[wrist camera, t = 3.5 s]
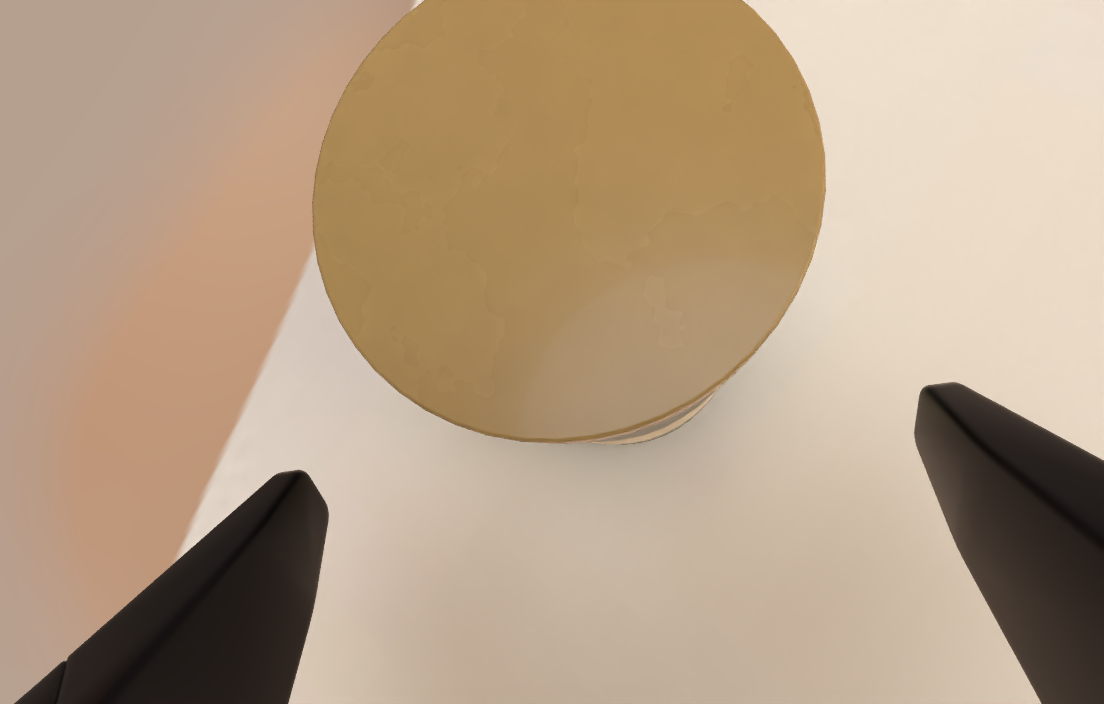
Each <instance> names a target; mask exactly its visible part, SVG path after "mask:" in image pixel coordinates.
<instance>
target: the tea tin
mask: <svg viewBox="0 0 1104 704" xmlns="http://www.w3.org/2000/svg"><path fill="white" fill-rule="evenodd" d="M825 192H826V180H825V152H824V146H823V140H822V134H821V128H820V122H819V119H818V116H817V113H816V110H815V107H814V104H813V101H812V97H811V94H810V91H809V89H808V87H807V85H806V83H805V81H804V79H803V77H802V75H801V73H800V71H799V69H798V67H797V65H796V63H795V61H794V59H793V58H792V56H791V55H790V53H789V52H788V50H787V49H786V48H785V46H784V45H783V43H782V42H781V40H780V39H779V37H778V36H777V35H776V33H775V32H774V31H773V30H772V29H771V28H770V27H769V26H768V25H767V23H766V22H765V21H764V20H763V19H762V18H761V17H760V16H759V15H758V14H757V13H756V12H755V11H754V10H753V9H752V8H751V7H750V6H749V5H747V4H746V3H745V2H744V1H742V0H425V1H423V2H422V3H421V4H419V5H418V6H417V7H416V8H414V9H413V10H412V11H410V12H409V13H408V14H407V15H405V16H404V17H403V18H402V19H401V20H400V21H399V22H398V23H397V24H396V25H395V26H394V27H393V28H392V29H391V30H390V31H389V32H388V33H387V34H386V35H385V36H384V37H383V38H382V39H381V40H380V41H379V42H378V44H377V45H376V46H375V47H374V49H373V50H372V51H371V52H370V53H369V55H368V56H367V57H366V58H365V60H364V61H363V62H362V64H361V65H360V67H359V68H358V70H357V71H356V73H355V74H354V76H353V78H352V79H351V81H350V82H349V84H348V85H347V87H346V89H345V91H344V93H343V95H342V97H341V99H340V101H339V103H338V105H337V107H336V109H335V111H334V113H333V115H332V118H331V120H330V123H329V126H328V129H327V131H326V134H325V137H324V140H323V143H322V147H321V151H320V156H319V160H318V164H317V168H316V174H315V183H314V193H313V202H312V203H313V235H314V242H315V248H316V255H317V262H318V266H319V269H320V272H321V276H322V279H323V283H324V286H325V289H326V293H327V295H328V297H329V299H330V302H331V304H332V306H333V308H334V311H335V313H336V315H337V317H338V320H339V322H340V323H341V325H342V326H343V328H344V330H345V331H346V333H347V334H348V336H349V338H350V339H351V341H352V342H353V344H354V346H355V347H356V348H357V350H358V351H359V352H360V353H361V354H362V356H363V357H364V358H365V359H366V360H367V362H368V363H369V364H370V365H371V366H372V368H373V369H374V370H375V371H376V372H377V373H378V374H379V375H380V376H381V377H383V378H384V379H385V380H386V381H387V382H388V383H389V384H390V385H391V386H393V387H394V388H395V389H396V390H397V391H398V392H399V393H401V394H402V395H404V396H405V397H407V398H408V399H410V400H411V401H413V402H414V403H416V404H417V405H418V406H420V407H421V408H423V409H424V410H426V411H428V412H430V413H432V414H434V415H436V416H438V417H440V418H442V419H444V420H446V421H448V422H450V423H452V424H455V425H457V426H460V427H463V428H466V429H469V430H472V431H475V432H479V433H482V434H485V435H488V436H493V437H499V438H504V439H510V440H515V441H521V442H537V443H559V444H568V443H579V442H590V443H599V444H622V445H624V444H635V443H641V442H646V441H650V440H653V439H656V438H659V437H662V436H664V435H666V434H668V433H670V432H672V431H674V430H676V429H678V428H679V427H681V426H682V425H684V424H685V423H686V422H688V421H689V420H690V419H691V418H693V417H694V416H695V415H696V414H697V413H698V412H699V411H700V410H701V409H702V408H703V406H705V405H706V404H707V402H708V401H709V400H710V399H711V397H712V396H713V395H714V394H715V393H716V391H717V390H718V389H719V388H720V386H722V385H723V384H724V383H725V382H726V381H727V380H728V379H729V378H730V377H731V376H733V375H734V374H735V373H736V372H737V371H738V370H739V369H740V368H741V367H742V366H743V365H744V364H745V363H746V362H747V361H748V360H749V359H750V358H751V357H752V356H753V355H754V353H755V352H756V351H757V350H758V349H759V347H760V346H761V345H762V344H763V342H764V341H765V340H766V339H767V338H768V336H769V335H770V334H771V333H772V331H773V330H774V329H775V328H776V327H777V325H778V324H779V322H780V320H781V319H782V317H783V316H784V314H785V312H786V311H787V309H788V307H789V306H790V304H791V303H792V301H793V299H794V298H795V296H796V294H797V292H798V290H799V288H800V285H801V283H802V281H803V279H804V276H805V274H806V272H807V269H808V267H809V265H810V263H811V260H812V257H813V253H814V250H815V246H816V242H817V239H818V235H819V232H820V228H821V223H822V215H823V208H824V200H825Z"/></svg>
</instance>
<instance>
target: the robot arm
mask: <svg viewBox="0 0 1104 704" xmlns="http://www.w3.org/2000/svg"><path fill="white" fill-rule="evenodd" d="M914 435H915V442H916V446H917V449H918V451H919V454H920V456H921V459H922V461H923V464H924V466H925V469H926V471H927V474H928V476H929V479H930V481H931V484H932V486H933V489H934V491H935V494H936V496H937V499H938V501H939V504H940V506H941V509H942V511H943V514H944V516H945V519H946V521H947V524H948V526H949V529H950V531H951V534H952V536H953V538H954V541H955V543H956V545H957V548H958V550H959V552H960V554H961V556H962V558H963V559H964V561H965V563H966V565H967V567H968V569H969V571H970V573H971V574H972V576H973V578H974V580H975V582H976V584H977V586H978V587H979V589H980V591H981V593H982V595H983V597H984V598H985V600H986V602H987V604H988V606H989V608H990V609H991V611H992V613H993V615H994V617H995V619H996V620H997V622H998V624H999V626H1000V628H1001V630H1002V632H1003V633H1004V635H1005V637H1006V639H1007V641H1008V643H1009V644H1010V646H1011V648H1012V650H1013V652H1014V654H1015V655H1016V657H1017V659H1018V661H1019V663H1020V665H1021V666H1022V668H1023V670H1024V672H1025V674H1026V676H1027V678H1028V679H1029V681H1030V683H1031V685H1032V687H1033V689H1034V690H1035V692H1036V694H1037V696H1038V698H1039V700H1040V701H1041V703H1042V704H1104V460H1102V459H1100V458H1098V457H1096V456H1094V455H1093V454H1091V453H1089V452H1087V451H1085V450H1083V449H1081V448H1079V447H1078V446H1076V445H1074V444H1072V443H1070V442H1068V441H1066V440H1065V439H1063V438H1061V437H1059V436H1057V435H1055V434H1053V433H1052V432H1050V431H1048V430H1046V429H1044V428H1042V427H1040V426H1038V425H1037V424H1035V423H1033V422H1031V421H1029V420H1027V419H1025V418H1024V417H1022V416H1020V415H1018V414H1016V413H1014V412H1012V411H1011V410H1009V409H1007V408H1005V407H1003V406H1001V405H999V404H997V403H996V402H994V401H992V400H990V399H988V398H986V397H984V396H983V395H981V394H979V393H977V392H975V391H973V390H971V389H970V388H968V387H966V386H964V385H962V384H959V383H956V382H949V383H942V384H934V385H928V386H925V387H924V388H923V389H922V390H921V392H920V396H919V402H918V409H917V416H916V422H915V430H914ZM328 519H329V512H328V507H327V504H326V502H325V500H324V499H323V497H322V496H321V494H320V492H319V491H318V489H317V488H316V486H315V484H314V483H313V481H312V480H311V478H310V476H309V475H308V474H307V473H306V472H304V471H302V470H295V471H287V472H281V473H278V474H276V475H274V476H273V477H272V478H271V479H270V480H268V481H267V482H266V483H265V484H264V485H263V486H262V487H261V488H259V489H258V490H257V491H256V492H255V493H254V494H253V495H251V496H250V497H249V498H248V499H247V500H246V501H245V502H243V503H242V504H241V505H240V506H239V507H238V508H237V509H236V510H234V511H233V512H232V513H231V514H230V515H229V516H228V517H226V518H225V519H224V520H223V521H222V522H221V523H220V524H218V525H217V526H216V527H215V528H214V529H213V530H212V531H211V532H209V533H208V534H207V535H206V536H205V537H204V538H203V539H201V540H200V541H199V542H198V543H197V544H196V545H195V546H193V547H192V548H191V549H190V550H189V551H188V552H187V553H185V554H184V555H183V556H182V557H181V558H180V559H179V560H178V561H176V562H175V563H174V564H173V565H172V566H171V567H170V568H168V569H167V570H166V571H165V572H164V573H163V574H162V575H160V576H159V577H158V578H157V579H156V580H155V581H154V582H153V583H151V584H150V585H149V586H148V587H147V588H146V589H145V590H143V591H142V592H141V593H140V594H139V595H138V596H137V597H135V598H134V599H133V600H132V601H131V602H130V603H129V604H128V605H126V606H125V607H124V608H123V609H122V610H121V611H120V612H118V613H117V614H116V615H115V616H114V617H113V618H112V619H110V620H109V621H108V622H107V623H106V624H105V625H104V626H102V627H101V628H100V629H99V630H98V631H97V632H96V633H95V634H93V635H92V636H91V637H90V638H89V639H88V640H87V641H85V642H84V644H82V645H81V646H80V647H79V648H77V649H76V650H75V651H74V652H73V653H72V654H71V655H70V656H69V657H68V659H67V661H63V662H61V663H60V664H59V665H58V666H57V667H56V668H55V669H53V670H52V671H51V672H50V673H49V674H48V675H47V676H46V677H44V678H43V679H42V680H41V681H40V682H39V683H38V684H37V685H35V686H34V687H33V688H32V689H31V690H30V691H28V692H27V693H26V694H25V695H24V696H23V697H21V698H20V699H19V700H18V701H17V702H16V703H14V704H288V702H289V699H290V695H291V691H292V688H293V684H294V680H295V677H296V673H297V669H298V666H299V662H300V658H301V655H302V651H303V647H304V644H305V640H306V636H307V633H308V629H309V625H310V621H311V617H312V613H313V609H314V604H315V599H316V593H317V587H318V581H319V575H320V569H321V563H322V556H323V550H324V544H325V538H326V532H327V526H328Z"/></svg>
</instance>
